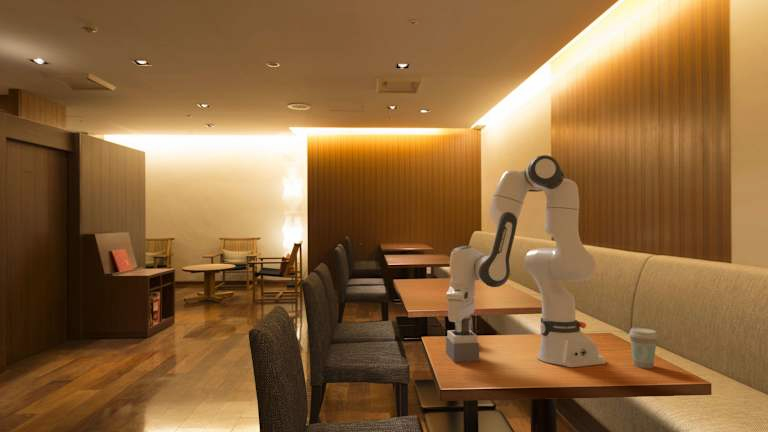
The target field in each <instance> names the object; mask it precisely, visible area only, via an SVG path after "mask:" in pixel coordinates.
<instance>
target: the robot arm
mask: <svg viewBox="0 0 768 432" xmlns="http://www.w3.org/2000/svg"><path fill="white" fill-rule="evenodd" d="M528 192H532V193H533V192H535V193H536V192H544V194H545V197H546V205H545V217H544V218H545V219H544V231H545V232H546V234H548V236H550V237H551V238H553V239H554V241H555V246H556V248H555V247H554V248H553V247H539V248H533V249H530V250H529V251H528V252H527V253H526V255H525V257H524V268H525V270H526V272H527V273H528V274H529V275H530V276H531V277H532V278H533V279H534V281H535V283H536V285H537V287H538V290H539V293H540V297H541V298H540V299H541V318H540V325H539V326H540V335H541V336H540V343H539V349H538V353H537V355H536V357H537V359H538V360H540V361H542V362H545V363H549V364H552V365H559V366H563V367H568V368H577V367H587V366H594V365H595V366H596V365H604V364H606V363H607V360H606V358H605V357H604V356H602V355H600V354H599V349H598V344H597V343H596V342H595V341H594V340H593V339H592V338H590V336H588V335H587V334H586V333H584V332H583V331H582V330H581V329H585V328H586V327H587V323H586V322H583V321H578V320H577V319H576V299H575V296H574V295H573V294H572V293H571V292H570V291H568V289H566V288H565V286H564V284H563V281H564V282H565V281H567V282H584V281H589V280H590V279H591V278H592V277H593V276H594V275H595V272H596V268H597V265H596V260H595V258H594V256H593V255H592V254H591V253H590V252H589V251H588V250H587V249H586V248H585V246H584V245H583V242H582V240H581V238H580V233H579V216H580V215H579V214H580V212H579V211H580V195H579V194H580V193H579V187H578V185H577V183H576V182H575V181H573V180H572V179H569V178H565V174H564V172H563V171H562V168H561V167H560V164H559V162H558V160H556V159H555V158H554V157H553V156H551V155H546V154H545V155H544V154H543V155H538V156H535V157H534V158H533V159H531V160H530V162H529V163H528V164H527V166H526V167H525V168H524V170H521V171H519V170H512V169H511V170H507V171H504V172H503V173H502V175H501V177H500V179H499V180H498V182H497V184H496V187H495V189H494V192H493V195H492V198H491V201H490V205H489V215H490V218H491V219H492V221H493V223H494V225H495V233H494V239H493V243H492V247H491V250H490V253H489V255H488V254H485V253H483V252H481V251H479V250H477V249H475V248H474V247H473V246H471V245H462V246H457V247H455V248H453V249H452V250H451V253H450V259H449V273H450V279H449V287H448V290H447V291H446V293H445V298H446V299H447V303H446V304H447V318H448V321H449V322H451V323H454V326H455V325H456V331H457V332H462V324H461V323H462V320H463V319H464V318H466V316H468V317H469V315H470V314H471V315H472V314H474V313H475V308H476V307H475V296H476V295H475V293H476V292H475V291H476V290H475V288H476V287H475V286H476V285H475V283H476V281H480V282H482V283H484V284H485V285H486V286H488V287H491V288H499V287H501V286H503V285H504V284H505V283H507V281H508V280H509V278H510V274H511V273H510V272H511V268H510V256H511V252H512V247H513V243H514V241H515V240H514V239H515V235H516V230H517V226H518V221H519V218H520V215H521V212H522V209H523V205H524V201H525V198H526V196H527V193H528Z"/></svg>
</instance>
